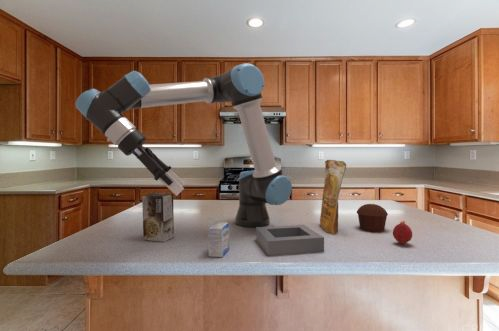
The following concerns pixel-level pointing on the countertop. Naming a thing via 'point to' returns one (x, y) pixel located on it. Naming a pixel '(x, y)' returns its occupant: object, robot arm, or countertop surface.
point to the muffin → (372, 217)
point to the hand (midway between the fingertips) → (181, 189)
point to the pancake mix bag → (331, 195)
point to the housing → (289, 240)
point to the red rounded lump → (402, 233)
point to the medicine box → (218, 239)
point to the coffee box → (158, 217)
